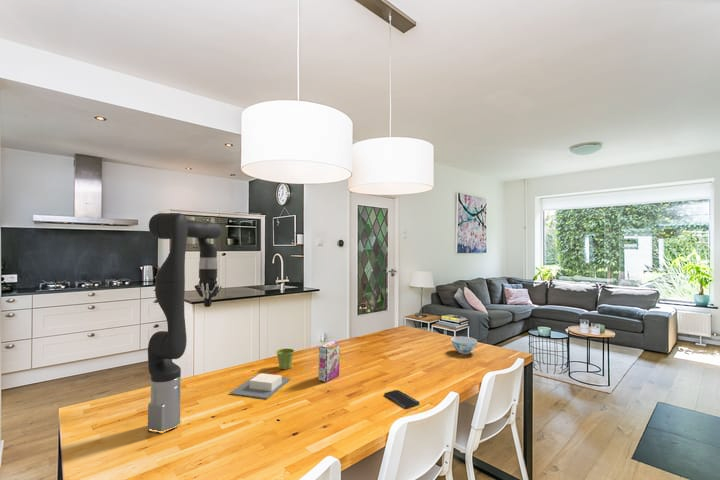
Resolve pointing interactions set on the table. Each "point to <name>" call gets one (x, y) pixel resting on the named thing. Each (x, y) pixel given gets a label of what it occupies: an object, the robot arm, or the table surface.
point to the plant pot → (285, 358)
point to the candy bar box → (329, 361)
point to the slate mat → (256, 390)
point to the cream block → (265, 382)
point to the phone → (401, 399)
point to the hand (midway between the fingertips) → (207, 306)
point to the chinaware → (464, 344)
